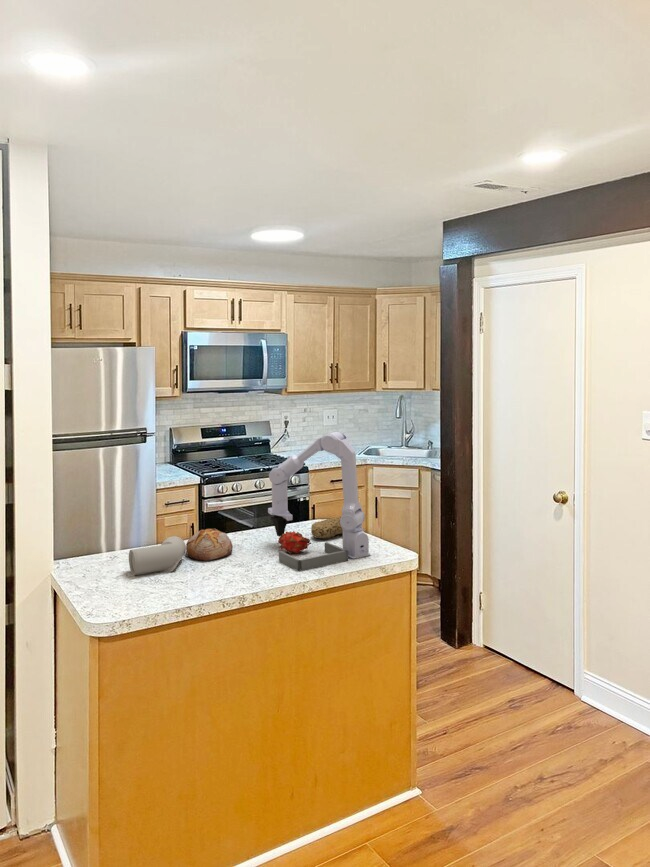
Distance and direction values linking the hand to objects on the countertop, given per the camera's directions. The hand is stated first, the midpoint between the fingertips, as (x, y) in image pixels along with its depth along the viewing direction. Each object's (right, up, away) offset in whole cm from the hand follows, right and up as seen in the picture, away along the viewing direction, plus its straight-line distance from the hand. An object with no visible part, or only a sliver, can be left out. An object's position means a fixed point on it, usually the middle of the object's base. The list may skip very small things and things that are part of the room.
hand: (280, 535), depth 260 cm
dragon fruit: (+6, -5, -8) cm, 11 cm away
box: (+13, -6, -18) cm, 23 cm away
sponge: (+20, -2, +14) cm, 24 cm away
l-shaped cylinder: (-40, -8, -24) cm, 47 cm away
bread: (-25, -6, -8) cm, 27 cm away
